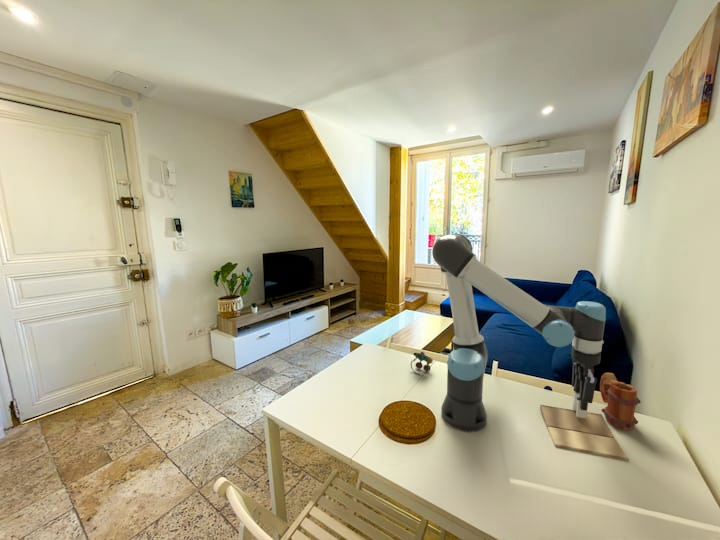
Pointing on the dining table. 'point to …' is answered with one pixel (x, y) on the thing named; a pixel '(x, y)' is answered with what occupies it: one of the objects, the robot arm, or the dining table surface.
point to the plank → (575, 421)
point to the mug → (618, 402)
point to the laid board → (587, 443)
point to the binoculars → (422, 357)
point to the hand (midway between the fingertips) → (579, 413)
